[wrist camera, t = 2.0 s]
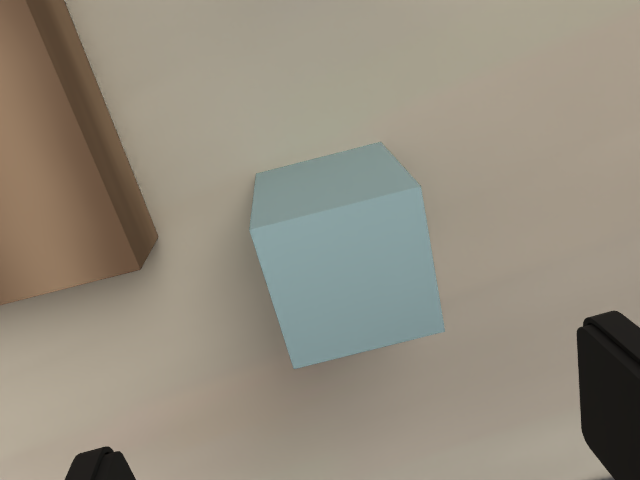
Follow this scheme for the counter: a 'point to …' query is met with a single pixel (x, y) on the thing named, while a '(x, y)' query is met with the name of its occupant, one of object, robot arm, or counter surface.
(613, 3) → the counter surface
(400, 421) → the counter surface
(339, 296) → the block
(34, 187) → the base
